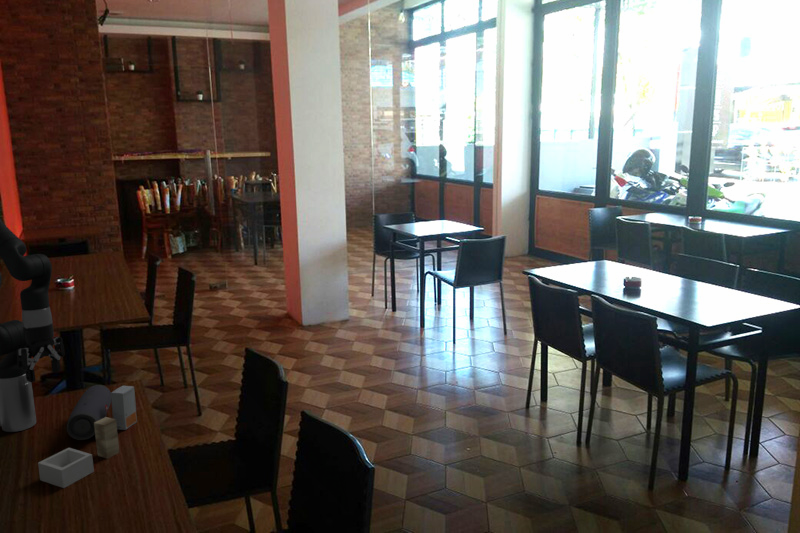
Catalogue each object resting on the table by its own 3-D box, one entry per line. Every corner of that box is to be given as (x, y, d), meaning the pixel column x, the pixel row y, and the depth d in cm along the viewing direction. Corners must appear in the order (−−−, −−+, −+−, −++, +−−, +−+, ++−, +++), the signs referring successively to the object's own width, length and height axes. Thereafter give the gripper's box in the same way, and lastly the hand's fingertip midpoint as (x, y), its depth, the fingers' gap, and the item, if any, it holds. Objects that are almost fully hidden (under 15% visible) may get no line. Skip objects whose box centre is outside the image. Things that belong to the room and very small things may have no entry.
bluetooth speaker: (101, 442, 186) (97, 410, 184) (66, 446, 183) (62, 414, 181) (115, 410, 207) (112, 381, 205) (84, 413, 205) (81, 384, 203)
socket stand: (40, 480, 165) (38, 462, 164) (70, 464, 173) (68, 447, 172) (63, 488, 161) (61, 470, 160) (93, 471, 169) (92, 454, 168)
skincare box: (126, 430, 193) (122, 393, 190) (113, 429, 194) (109, 392, 191) (137, 421, 199) (134, 386, 196) (125, 420, 199) (122, 385, 197)
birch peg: (97, 455, 178) (93, 422, 176) (109, 449, 181) (105, 416, 179) (107, 458, 176) (104, 425, 174) (119, 452, 180) (116, 419, 178)
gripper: (48, 317, 191) (54, 368, 194) (5, 328, 178) (13, 384, 180) (67, 318, 189) (73, 370, 191) (26, 330, 175) (33, 386, 178)
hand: (44, 377), depth 186 cm, fingers open, 8 cm apart
